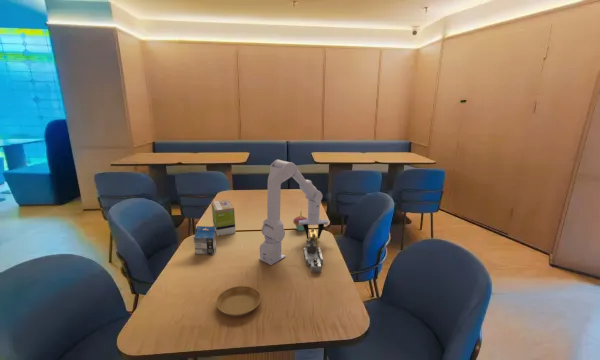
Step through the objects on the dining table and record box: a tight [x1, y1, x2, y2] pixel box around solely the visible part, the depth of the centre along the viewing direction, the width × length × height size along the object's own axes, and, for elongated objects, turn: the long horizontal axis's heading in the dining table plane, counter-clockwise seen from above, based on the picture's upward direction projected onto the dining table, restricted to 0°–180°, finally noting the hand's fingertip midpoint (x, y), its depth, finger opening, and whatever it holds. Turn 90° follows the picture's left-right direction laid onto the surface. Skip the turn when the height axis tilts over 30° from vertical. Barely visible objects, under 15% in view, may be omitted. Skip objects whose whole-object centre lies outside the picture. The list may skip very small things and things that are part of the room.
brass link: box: [308, 228, 319, 246], centre depth 142 cm, size 9×4×5 cm, turn 3°
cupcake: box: [292, 210, 308, 232], centre depth 155 cm, size 9×8×12 cm
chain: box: [303, 239, 324, 274], centre depth 125 cm, size 23×8×4 cm, turn 4°
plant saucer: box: [215, 285, 262, 317], centre depth 95 cm, size 15×15×3 cm
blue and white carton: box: [193, 225, 217, 256], centre depth 128 cm, size 9×4×12 cm, turn 88°
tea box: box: [210, 199, 236, 237], centre depth 153 cm, size 15×10×15 cm, turn 25°
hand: (313, 237), depth 143 cm, fingers open, 5 cm apart
